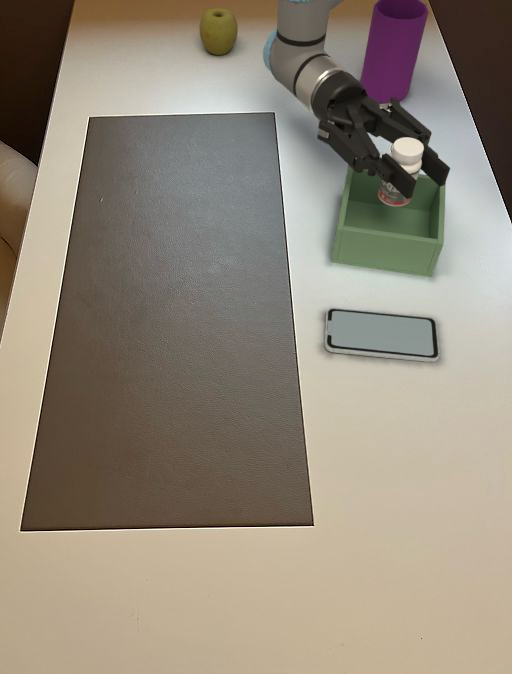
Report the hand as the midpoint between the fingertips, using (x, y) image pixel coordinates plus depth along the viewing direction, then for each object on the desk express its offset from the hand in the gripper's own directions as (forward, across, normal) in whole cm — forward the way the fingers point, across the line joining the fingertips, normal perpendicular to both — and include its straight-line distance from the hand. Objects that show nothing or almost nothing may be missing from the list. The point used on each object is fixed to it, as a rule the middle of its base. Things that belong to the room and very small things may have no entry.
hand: (428, 183), depth 82 cm
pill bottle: (-5, 0, -6) cm, 8 cm away
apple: (-66, -3, -14) cm, 67 cm away
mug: (-40, -25, -14) cm, 49 cm away
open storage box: (-5, 0, -14) cm, 14 cm away
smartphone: (+11, +12, -14) cm, 21 cm away
